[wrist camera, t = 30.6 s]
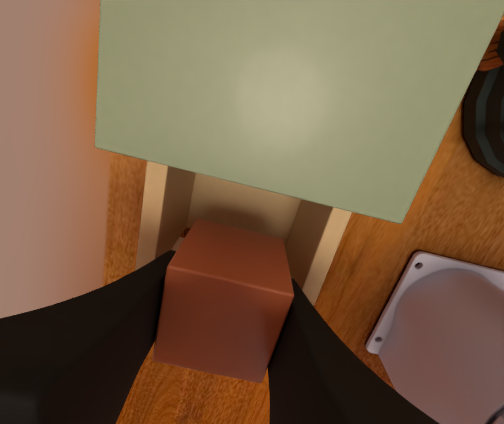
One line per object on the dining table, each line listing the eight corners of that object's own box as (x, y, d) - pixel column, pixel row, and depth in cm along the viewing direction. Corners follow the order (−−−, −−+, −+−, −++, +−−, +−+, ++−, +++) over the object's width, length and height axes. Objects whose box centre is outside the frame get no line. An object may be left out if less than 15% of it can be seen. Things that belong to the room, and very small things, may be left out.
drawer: (274, 328, 21) (280, 424, 14) (155, 302, 20) (106, 389, 14) (365, 74, 14) (449, 41, 8) (196, 26, 14) (141, -49, 7)
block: (261, 308, 13) (262, 385, 9) (182, 290, 13) (151, 361, 9) (284, 238, 12) (295, 295, 8) (196, 217, 12) (166, 265, 8)
